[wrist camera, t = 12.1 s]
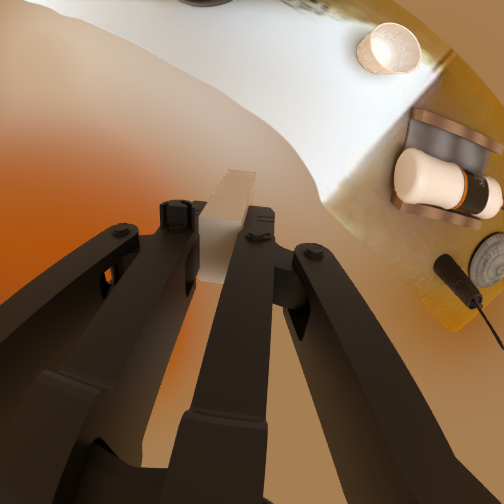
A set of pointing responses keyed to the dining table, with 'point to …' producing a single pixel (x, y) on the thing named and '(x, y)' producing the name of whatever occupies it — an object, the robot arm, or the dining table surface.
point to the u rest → (446, 158)
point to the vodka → (445, 185)
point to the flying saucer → (488, 262)
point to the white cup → (389, 50)
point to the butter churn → (461, 286)
